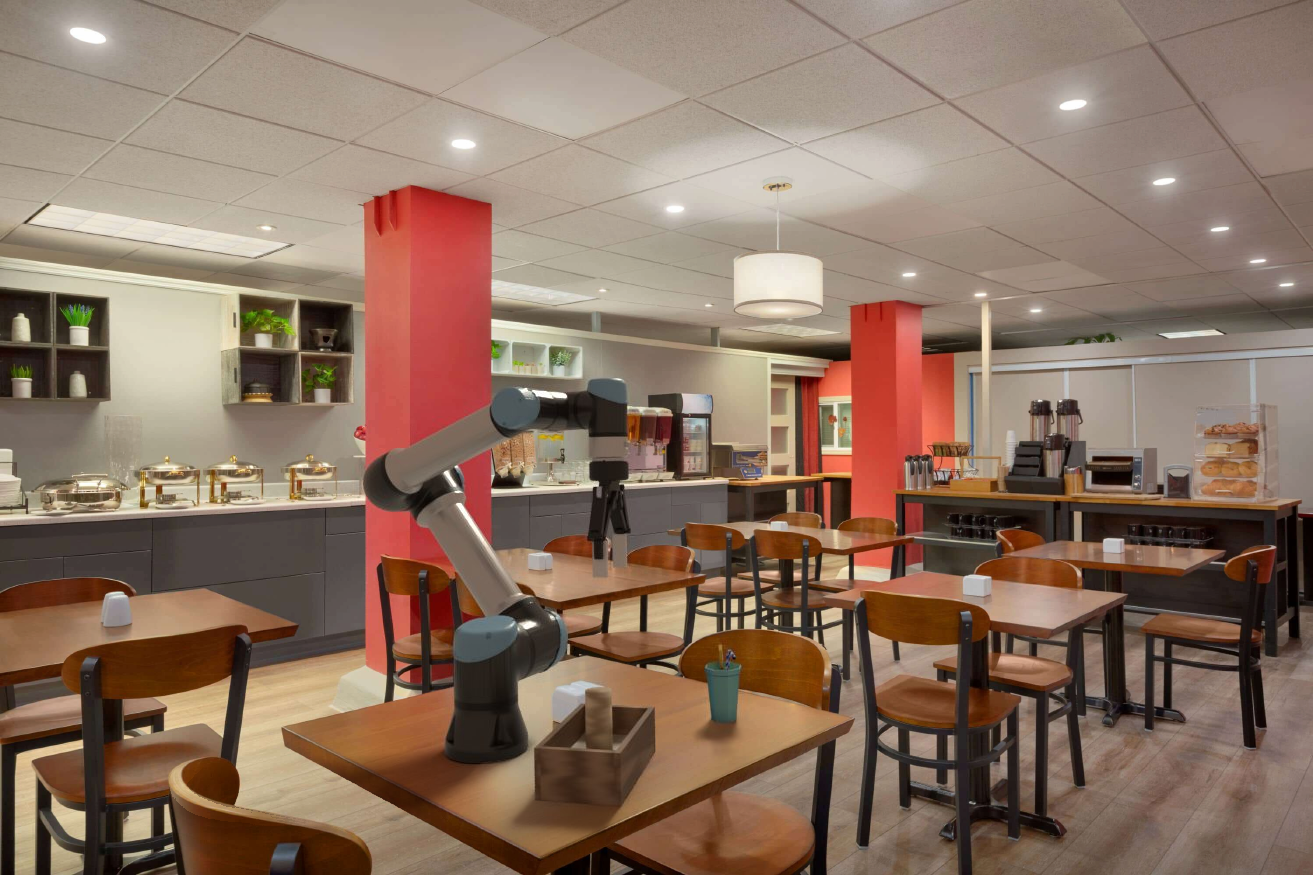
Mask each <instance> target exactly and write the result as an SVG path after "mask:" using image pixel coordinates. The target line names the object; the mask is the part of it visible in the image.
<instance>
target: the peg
mask: <svg viewBox="0 0 1313 875" xmlns="http://www.w3.org/2000/svg"><path fill="white" fill-rule="evenodd" d="M584 690H585V691H584V701H585V702H584V704H585V720H586V749H596V750H613V740H612V705H613V696H612V694H613V691H612V688H610V687H608V686H593V687H588V688H587V689H584Z"/></svg>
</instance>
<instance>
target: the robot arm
mask: <svg viewBox="0 0 1313 875" xmlns="http://www.w3.org/2000/svg"><path fill="white" fill-rule="evenodd" d="M627 389H628V388H627V384H626V381H625V380H624V379H621V378H613V377H604V378H603V377H599V378H592V379H590V380H588V382H587V387H586V390H582V391H560V390H558V391H557V390H546V389H540V388H539V389H538V388H531V387H525V386H521V385H520V386H518V385H516V386H507V387H506V386H505V387H502V388H501V389H500V390H499V391H497V392H496V394H495V396H494V397H493V399H492V400H491V403H489V404H488V405H486V406H483V407H481V408H480V409H478V410H476V411H474V412H473V413H470V414H469V415H467V416H465V417H463V418H460V419H458V420H457V421H455V422H454V423H452V424H450V425H447V426H446V427H444V428H441V429H440V430H439V431H437V432H435V433H432V434H430V435H429V436H427V437H425V438H423V439H421V440H419V441H417V442H415V443H414V444H412V445H410V446H407V447H406V448H402V447H396V448H393V449H391V450H389V451H388V452H386V453H384V454H382V455H380V456H378V457H376V458H375V459H374V460H373V461H372V462H370V464H369V465H368V466H367V468H366V470H365V471H364V475H363V479H362V485H363V486H362V487H363V492H364V494H365V497H366V498H367V500H368V501H369V502H370V503H371V504H372V505H373V506H374V507H376V508H377V509H380V510H382V511H386V512H389V513H390V512H392V513H398V512H399V513H400V512H409V513H410V515H411V516H412V518H413V520H414V521H415V522H416V524H417V525H418V527H421V528H427V529H428V530H430V532H431V534H432V535H433V537H434V538H435V540H436V541H437V543H438V545H439V547H440V548H441V549H442V550H443V552H444V554H445V556H446V557H447V558H448V560H449V562H450V563H451V564H452V566H453V568H454V569H455V571H456V573H457V574H458V576H459V578H460V579H461V581H463V583H464V586H466V588H467V589H468V591H469V592H470V594H471V596H472V597H473V599H474V600H475V603H477V605H478V607H479V608H480V610H481V611H482V613H483V614H484V617H478V618H474V619H473V618H472V619H470V620H468V621H466V622H464V623H462V624H461V625H459V626H458V627H457V628H456V630H455V631H454V635H453V646H452V657H453V658H452V664H453V671H452V672H453V701H454V702H453V705H454V706H453V707H454V708H453V712H452V716H451V719H450V722H449V725H448V729H447V732H446V736H445V739H444V756H446V757H447V758H448V759H450V760H452V761H455V762H459V763H467V764H486V763H488V764H489V763H495V762H500V761H501V762H502V761H505V760H508V759H512V758H515V757H517V756H520V755H521V754H523V753H525V752H526V751H528V750H527V749H528V748H529V734H528V728H527V726H526V723H525V721H524V717H523V714H522V711H521V709H520V706H519V682H520V681H522V680H525V679H528V678H529V677H532V676H534V675H537V674H542V673H545V672H547V671H548V670H550V669H551V668H553V667H554V666H556V665H558V664H559V663H560V661H562V659H564V656H565V654H566V653H567V648H568V640H569V637H568V636H569V634H568V629H567V626H566V623H565V622H564V620H563V618H562V617H561V616H560V615H559V614H558V613H557V612H555V611H553V610H549V609H545V608H542V606H541V605H540V604H539V602H538V600H537V599H536V598H535V596H533V595H531V594H525V593H523V592H522V590H521V588H519V586H518V584H517V583H516V582H515V580H514V579H513V577H512V575H511V574H510V573H509V571H508V569H507V568H506V567H505V565H504V563H503V562H502V561H501V559H500V557H499V556H498V554H497V553H496V551H495V550H494V549H493V547H492V546H491V544H490V543H489V541H488V539H487V538H486V537H485V535H484V533H483V532H482V530H481V529H480V527H479V526H478V525H477V523H476V521H475V520H474V518H473V517H472V515H471V514H470V512H469V511H468V509H467V508H466V506H465V503H466V500H467V495H466V494H465V488H466V486H465V484H464V482H465V476H464V474H463V471H462V470H461V468H460V466H459V465H461V464H463V463H465V462H467V461H470V460H471V459H473V458H475V457H477V456H479V455H480V454H483V453H485V452H486V451H489V450H491V449H493V448H495V447H497V446H499V445H500V444H503V443H504V442H506V441H508V440H510V439H513V438H515V437H517V436H520V435H521V434H523V433H525V432H527V431H530V430H538V431H539V430H540V431H543V432H544V431H545V432H556V433H557V432H560V431H561V432H562V431H576V430H578V431H579V430H582V431H583V430H585V431H586V430H587V432H588V433H587V434H588V458H589V459H591V461H590V462H589V463H588V476H589V477H588V478H589V480H590V481H591V482H598V486H592V500H591V501H592V502H591V508H590V509H591V510H590V516H589V525H588V532H587V533H588V534H587V536H586V541H587V542H591V548H592V549H591V553H592V554H591V555H592V556H591V557H592V559H591V560H592V562H591V563H592V578H609V554H608V552H609V549H608V548H609V547H608V546H609V542H608V540H606V539H607V534H608V529H609V525H610V524H609V523H610V521H611V526H612V529H613V534H612V536H611V537H612V542H611V543H612V568H613V569H614V568H617V569H621V568H622V569H623V568H625V569H626V568H628V552H627V551H628V550H627V548H628V544H627V541H628V540H627V539H628V538H627V536H628V535H627V534H631V533H632V531H631V530H632V529H631V527H630V521H629V515H628V508H627V501H626V493H625V484H624V483H620V481H628V480H629V478H630V475H629V474H630V472H629V467H630V465H629V462H628V460H626V459H627V458H628V457H629V448H630V447H631V446H632V444H631V442H630V441H629V439H628V438H629V436H628V404H629V400H628V391H627Z"/></svg>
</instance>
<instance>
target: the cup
mask: <svg viewBox="0 0 1313 875" xmlns="http://www.w3.org/2000/svg"><path fill="white" fill-rule="evenodd" d="M725 655H726V656H725V661H724V655H723V646H722V644H718V657H719V661H713V662H708V663H707V664H706V665H705V667H704V673H705V674H706V679H707V680H706V681H707V691H708V699H709V707H710V710H709V711H710V719H711V721H714V722H715V723H727V724H728V723H732V722H736V721H737V719H738V701H739V685H740V673H741V671H742V665H741V664H740V663H736V662H733V661H735V660H736V659H737V657H736V655H735V653H734V652H733V651H732V649H728V650H727V651H726V654H725ZM731 660H732V661H731Z"/></svg>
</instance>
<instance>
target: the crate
mask: <svg viewBox="0 0 1313 875" xmlns="http://www.w3.org/2000/svg"><path fill="white" fill-rule="evenodd" d="M655 709H656V707H655V706H642V705H641V706H640V705H625V704H624V705H621V704H619V705H618V704H612V740H613V750H596V749H586V720H585V703H582V702H581V703H580V704H579V705H578V706H576V707H575V708H574V710H573V711H571V713H569V714H568V715H567V716H566V717H565V718H564V719H563V720H562V721H561V722H559V724H557V725H556V727H555V728H554V729H552V731H551V732H549V733H548V734H547V735H546V736H545V737H544V738H543V739H542V740H541V741H540V742H539V743H538V744H537V745H535V747H533V753H534V754H533V757H534V758H533V759H534V760H533V761H534V762H533V763H534V764H533V765H534V766H533V767H534V772H533V773H534V800H535V801H536V800H537V801H548V802H561V803H562V802H563V803H573V804H588V805H589V804H590V805H601V806H614V807H615V806H617V807H622V806H623V805H624V802H625V801H626V799H627V798H628V797H629V794H630V793H631V791H632V789H633V788H634V787H635V785H636V783H637V781H638V780H639V779H640V777H641V776H642V774H643V772H644V771H645V769H646V768H647V766H648V764H649V762H650V761H651V760H652V758H653V756H654V755H655V753H656V748H657V747H656V710H655Z"/></svg>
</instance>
